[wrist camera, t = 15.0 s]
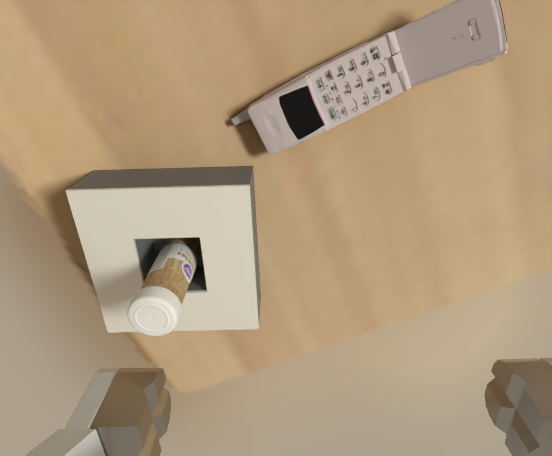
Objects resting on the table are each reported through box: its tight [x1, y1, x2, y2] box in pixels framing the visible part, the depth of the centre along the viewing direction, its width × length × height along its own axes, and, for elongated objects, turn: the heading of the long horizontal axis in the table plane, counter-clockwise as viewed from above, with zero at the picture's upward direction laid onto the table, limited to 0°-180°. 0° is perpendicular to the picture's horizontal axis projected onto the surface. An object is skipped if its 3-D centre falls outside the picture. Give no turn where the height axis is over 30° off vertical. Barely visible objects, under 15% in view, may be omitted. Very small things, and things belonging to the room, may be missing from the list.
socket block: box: [66, 166, 261, 332], centre depth 43 cm, size 18×18×6 cm
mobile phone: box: [232, 0, 507, 154], centre depth 36 cm, size 6×6×25 cm
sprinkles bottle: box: [127, 237, 202, 336], centre depth 40 cm, size 5×5×13 cm
